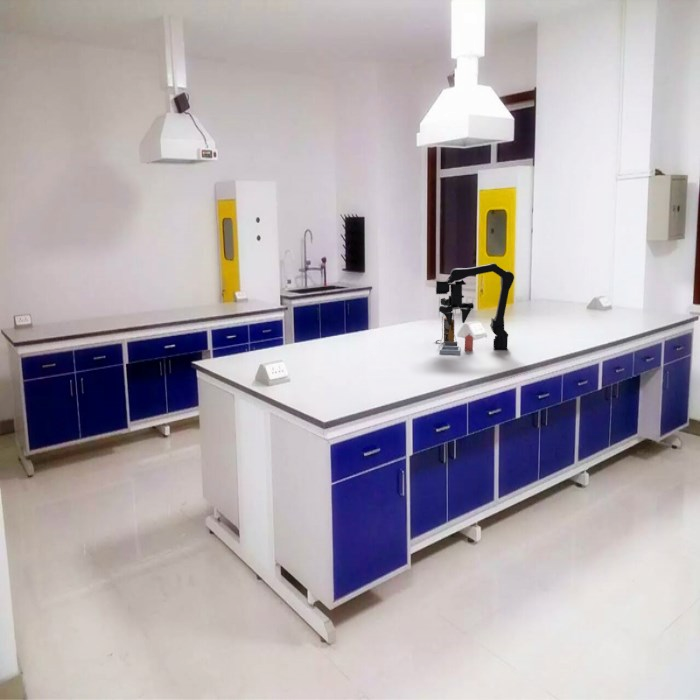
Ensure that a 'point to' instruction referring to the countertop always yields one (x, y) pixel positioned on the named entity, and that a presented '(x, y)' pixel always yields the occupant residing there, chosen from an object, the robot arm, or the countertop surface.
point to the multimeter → (448, 331)
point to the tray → (450, 350)
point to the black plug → (450, 344)
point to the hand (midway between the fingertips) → (456, 324)
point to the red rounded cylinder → (468, 343)
